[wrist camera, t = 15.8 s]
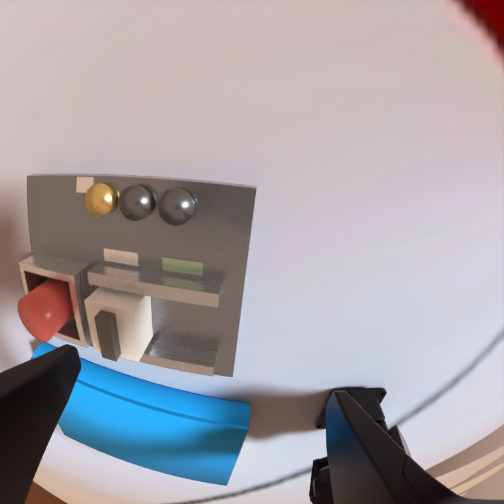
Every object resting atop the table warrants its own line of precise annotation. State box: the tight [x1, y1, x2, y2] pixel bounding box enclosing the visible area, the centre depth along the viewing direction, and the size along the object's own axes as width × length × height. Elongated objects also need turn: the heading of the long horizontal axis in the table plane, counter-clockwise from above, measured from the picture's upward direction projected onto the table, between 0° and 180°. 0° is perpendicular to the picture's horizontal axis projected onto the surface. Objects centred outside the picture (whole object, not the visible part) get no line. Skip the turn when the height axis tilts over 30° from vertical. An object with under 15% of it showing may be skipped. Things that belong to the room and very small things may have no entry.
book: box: [31, 342, 250, 486], centre depth 27 cm, size 17×4×25 cm
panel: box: [19, 174, 257, 377], centre depth 20 cm, size 16×20×4 cm
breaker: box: [84, 287, 153, 362], centre depth 19 cm, size 4×4×4 cm
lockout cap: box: [18, 278, 74, 342], centre depth 19 cm, size 4×4×5 cm
